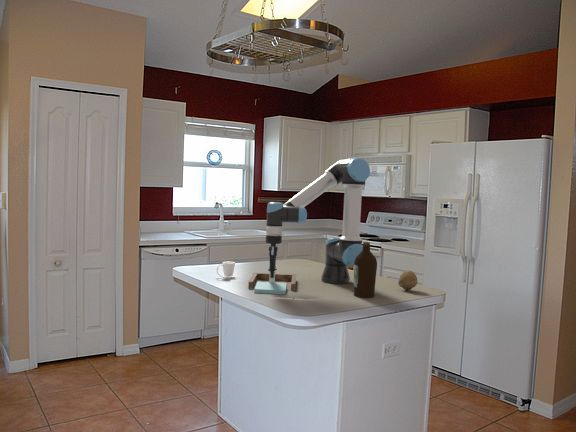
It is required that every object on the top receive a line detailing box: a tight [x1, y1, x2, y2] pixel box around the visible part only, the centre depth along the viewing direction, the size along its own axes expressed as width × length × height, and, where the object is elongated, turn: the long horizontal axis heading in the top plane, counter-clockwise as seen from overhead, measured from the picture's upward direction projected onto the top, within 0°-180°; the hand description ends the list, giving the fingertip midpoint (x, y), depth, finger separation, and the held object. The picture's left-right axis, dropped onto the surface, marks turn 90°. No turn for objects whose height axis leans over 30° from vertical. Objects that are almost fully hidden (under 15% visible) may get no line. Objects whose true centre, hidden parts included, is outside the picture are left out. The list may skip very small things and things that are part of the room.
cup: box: [216, 260, 236, 279], centre depth 271 cm, size 7×10×8 cm
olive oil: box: [353, 241, 378, 299], centre depth 239 cm, size 11×11×25 cm
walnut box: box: [247, 272, 297, 292], centre depth 254 cm, size 22×25×4 cm
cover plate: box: [253, 282, 287, 295], centre depth 239 cm, size 14×12×2 cm
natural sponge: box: [397, 270, 419, 291], centre depth 256 cm, size 9×9×10 cm
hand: (271, 284), depth 245 cm, fingers closed
